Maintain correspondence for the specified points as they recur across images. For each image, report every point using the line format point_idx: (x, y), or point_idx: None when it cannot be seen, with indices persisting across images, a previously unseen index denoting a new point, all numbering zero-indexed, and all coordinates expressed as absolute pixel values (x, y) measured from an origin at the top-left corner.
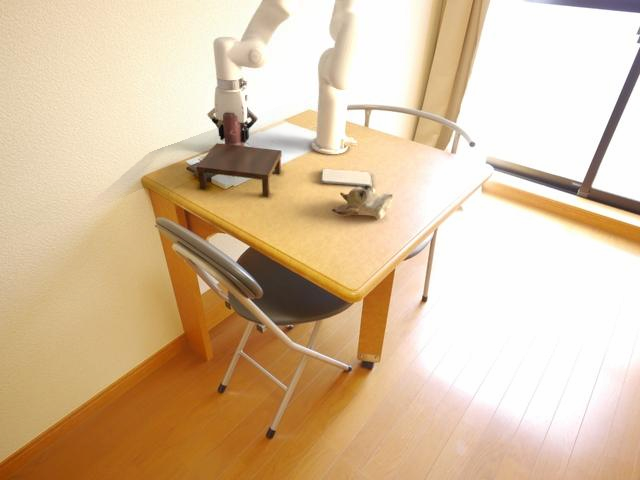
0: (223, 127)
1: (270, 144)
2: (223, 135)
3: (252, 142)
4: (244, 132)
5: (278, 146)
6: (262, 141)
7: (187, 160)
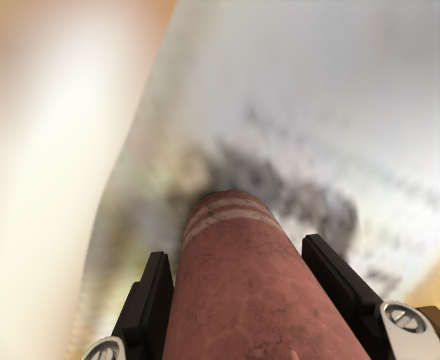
0: (154, 348)
1: (379, 79)
2: (169, 302)
3: (274, 88)
4: None
5: (424, 91)
6: (328, 51)
7: (89, 347)
